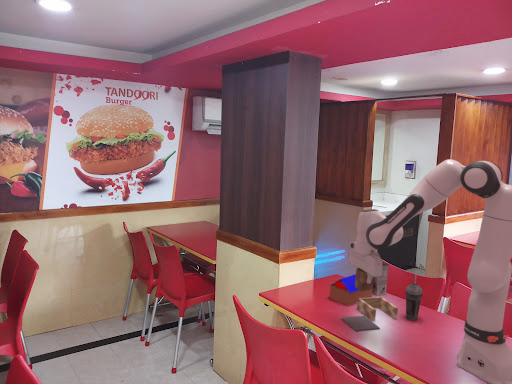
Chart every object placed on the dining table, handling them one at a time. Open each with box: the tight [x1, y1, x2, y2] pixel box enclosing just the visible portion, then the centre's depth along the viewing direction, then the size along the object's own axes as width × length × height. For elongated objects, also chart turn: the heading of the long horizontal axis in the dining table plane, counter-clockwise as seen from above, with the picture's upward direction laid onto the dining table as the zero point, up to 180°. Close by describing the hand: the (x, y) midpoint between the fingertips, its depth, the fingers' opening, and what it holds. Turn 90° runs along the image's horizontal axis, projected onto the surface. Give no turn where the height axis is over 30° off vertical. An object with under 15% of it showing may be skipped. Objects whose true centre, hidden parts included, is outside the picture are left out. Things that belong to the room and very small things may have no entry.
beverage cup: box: [404, 273, 423, 321], centre depth 183 cm, size 7×7×20 cm
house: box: [329, 273, 374, 307], centre depth 205 cm, size 12×20×12 cm, turn 132°
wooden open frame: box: [356, 296, 399, 322], centre depth 187 cm, size 14×12×5 cm
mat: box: [341, 315, 381, 332], centre depth 176 cm, size 12×11×1 cm
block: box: [355, 268, 373, 291], centre depth 173 cm, size 5×5×8 cm
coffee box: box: [372, 261, 390, 296], centre depth 214 cm, size 9×6×16 cm
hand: (363, 280), depth 173 cm, fingers closed on block, 5 cm apart
